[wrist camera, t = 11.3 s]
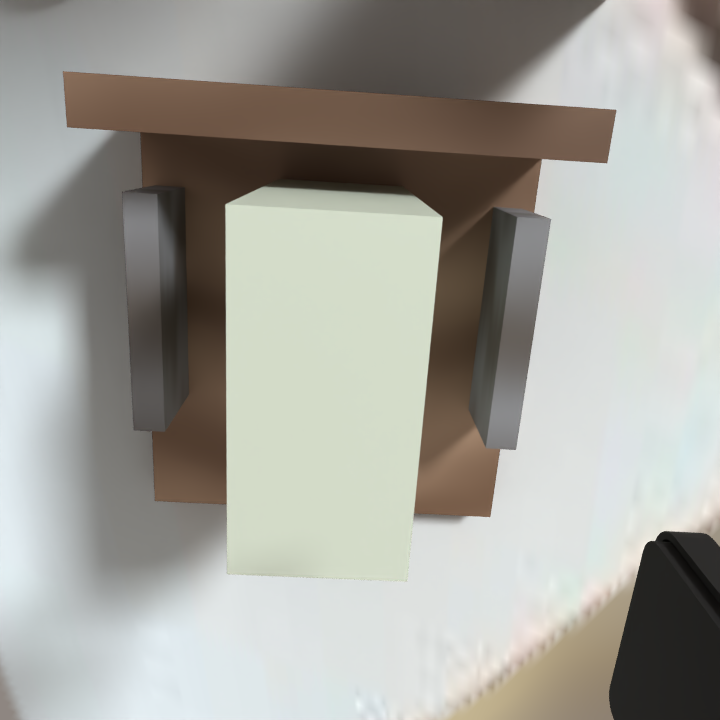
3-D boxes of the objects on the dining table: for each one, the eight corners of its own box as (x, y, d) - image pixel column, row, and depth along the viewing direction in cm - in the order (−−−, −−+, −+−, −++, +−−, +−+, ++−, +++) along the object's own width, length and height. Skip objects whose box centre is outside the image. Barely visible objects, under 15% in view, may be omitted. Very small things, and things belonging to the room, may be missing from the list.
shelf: (149, 94, 27) (62, 71, 19) (537, 120, 27) (616, 109, 19) (163, 485, 32) (101, 599, 24) (484, 500, 33) (528, 616, 25)
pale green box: (279, 178, 26) (225, 204, 15) (402, 186, 26) (442, 217, 15) (274, 408, 29) (226, 574, 18) (384, 413, 30) (407, 581, 18)
